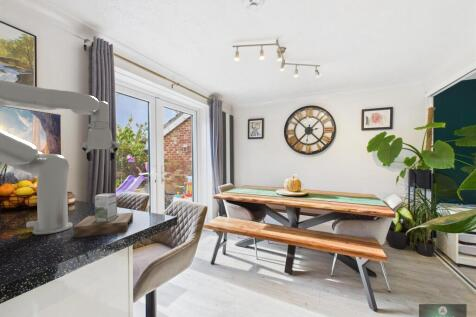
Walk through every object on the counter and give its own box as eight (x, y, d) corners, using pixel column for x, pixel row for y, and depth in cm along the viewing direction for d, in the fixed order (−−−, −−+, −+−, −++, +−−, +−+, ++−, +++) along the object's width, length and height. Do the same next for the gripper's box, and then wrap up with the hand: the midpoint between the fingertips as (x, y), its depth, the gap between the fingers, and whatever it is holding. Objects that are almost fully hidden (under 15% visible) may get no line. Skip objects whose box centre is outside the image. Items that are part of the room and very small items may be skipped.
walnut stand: (73, 237, 80) (73, 227, 80) (88, 225, 94) (88, 216, 94) (126, 231, 85) (126, 221, 85) (133, 221, 99) (132, 212, 99)
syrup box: (117, 226, 92) (116, 192, 92) (107, 231, 86) (107, 195, 86) (104, 226, 93) (104, 192, 92) (94, 230, 87) (94, 195, 87)
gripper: (76, 124, 100) (77, 161, 100) (118, 126, 105) (118, 160, 105) (82, 126, 107) (83, 160, 107) (121, 127, 112) (122, 160, 112)
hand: (101, 160), depth 106 cm, fingers open, 9 cm apart
